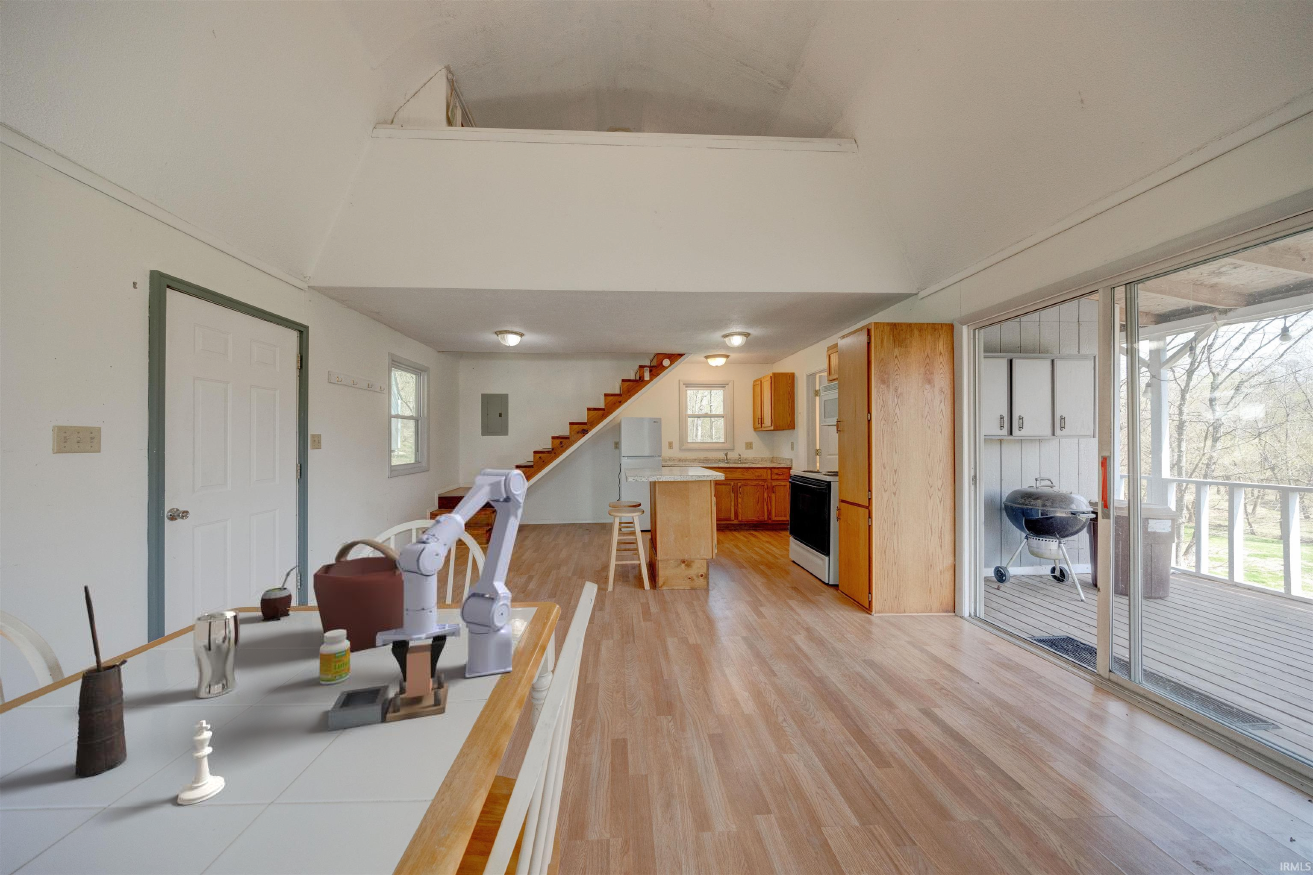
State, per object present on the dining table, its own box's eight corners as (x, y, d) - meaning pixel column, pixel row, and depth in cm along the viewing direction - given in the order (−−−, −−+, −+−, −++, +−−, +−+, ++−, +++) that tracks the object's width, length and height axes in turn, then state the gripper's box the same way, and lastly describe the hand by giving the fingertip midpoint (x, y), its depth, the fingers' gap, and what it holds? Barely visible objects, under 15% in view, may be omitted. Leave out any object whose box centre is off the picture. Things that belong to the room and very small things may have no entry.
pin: (432, 684, 96) (432, 643, 96) (430, 694, 92) (430, 651, 92) (409, 687, 95) (409, 645, 95) (406, 697, 91) (406, 654, 91)
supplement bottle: (334, 686, 100) (335, 638, 100) (312, 683, 101) (313, 636, 102) (355, 674, 106) (356, 628, 106) (334, 671, 107) (335, 627, 107)
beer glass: (246, 686, 100) (247, 612, 100) (203, 702, 94) (204, 623, 94) (227, 679, 103) (229, 607, 103) (185, 694, 97) (186, 618, 97)
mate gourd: (257, 618, 140) (258, 565, 140) (291, 611, 146) (291, 560, 146) (264, 624, 135) (264, 569, 135) (298, 616, 141) (299, 564, 141)
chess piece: (197, 781, 72) (198, 712, 72) (233, 779, 72) (234, 710, 73) (167, 805, 67) (168, 731, 67) (205, 803, 67) (207, 730, 68)
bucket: (429, 639, 125) (430, 540, 125) (328, 668, 108) (330, 555, 109) (392, 616, 141) (392, 529, 141) (299, 639, 124) (300, 540, 125)
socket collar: (389, 700, 95) (389, 684, 95) (380, 722, 87) (381, 705, 87) (341, 707, 92) (341, 691, 92) (328, 730, 85) (328, 713, 85)
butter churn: (149, 736, 83) (152, 570, 83) (156, 759, 77) (159, 580, 77) (64, 763, 76) (68, 581, 76) (65, 791, 70) (68, 593, 70)
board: (448, 688, 99) (448, 670, 100) (444, 712, 90) (445, 693, 90) (395, 696, 96) (395, 678, 96) (386, 722, 87) (386, 702, 87)
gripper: (372, 617, 88) (371, 694, 87) (460, 608, 92) (459, 681, 92) (380, 605, 94) (380, 676, 94) (461, 597, 99) (461, 665, 99)
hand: (419, 677), depth 93 cm, fingers closed on pin, 4 cm apart
